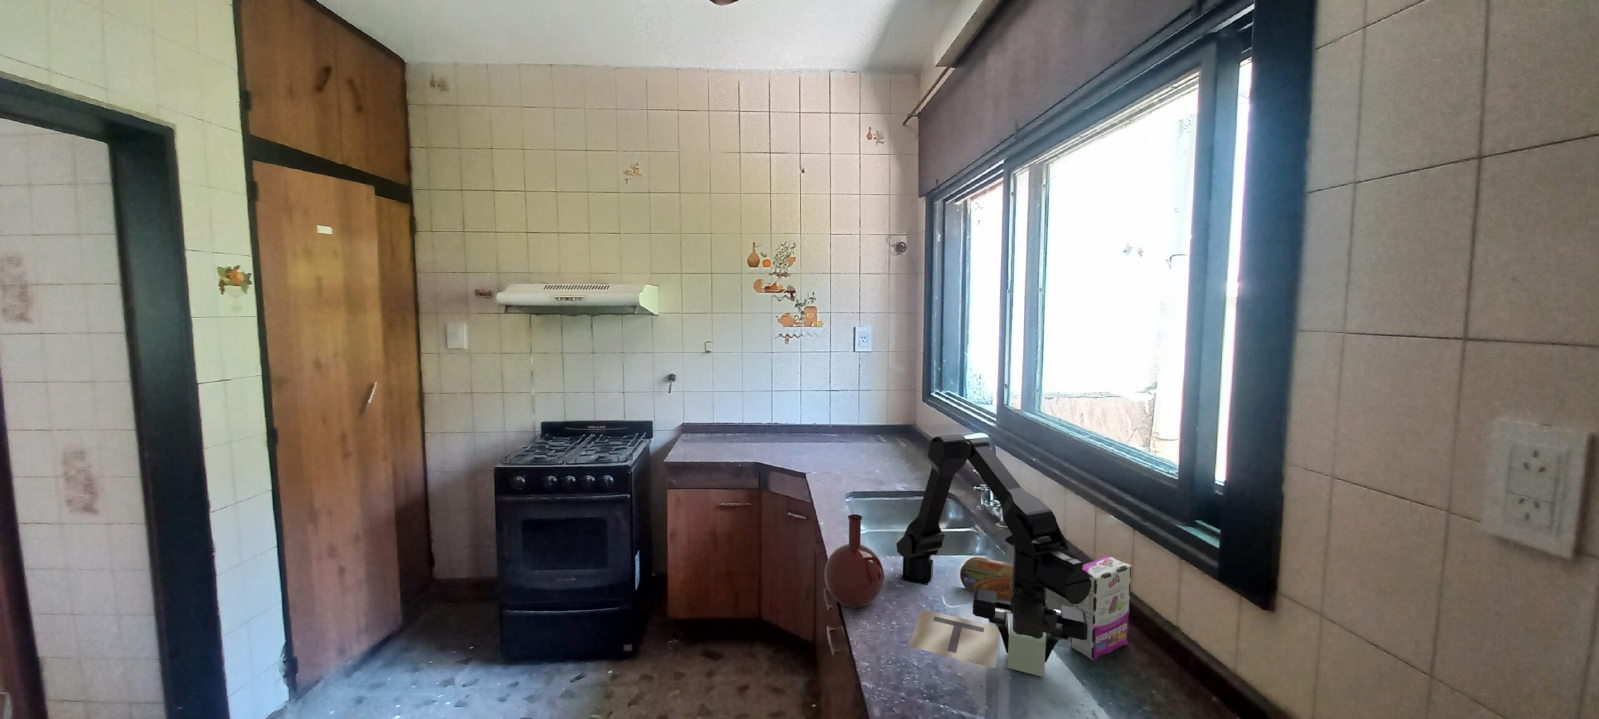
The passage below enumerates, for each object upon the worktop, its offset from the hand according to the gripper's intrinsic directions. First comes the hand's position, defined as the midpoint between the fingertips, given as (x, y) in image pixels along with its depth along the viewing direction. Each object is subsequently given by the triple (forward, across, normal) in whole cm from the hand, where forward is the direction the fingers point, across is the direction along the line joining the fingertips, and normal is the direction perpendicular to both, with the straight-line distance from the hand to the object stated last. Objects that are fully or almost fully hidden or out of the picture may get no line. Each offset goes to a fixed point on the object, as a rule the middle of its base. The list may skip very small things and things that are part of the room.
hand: (1025, 656), depth 97 cm
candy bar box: (+2, +13, +13) cm, 19 cm away
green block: (+1, 0, 0) cm, 1 cm away
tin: (+3, -7, +24) cm, 25 cm away
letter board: (+2, -13, +4) cm, 14 cm away
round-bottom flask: (+3, -36, +8) cm, 36 cm away
